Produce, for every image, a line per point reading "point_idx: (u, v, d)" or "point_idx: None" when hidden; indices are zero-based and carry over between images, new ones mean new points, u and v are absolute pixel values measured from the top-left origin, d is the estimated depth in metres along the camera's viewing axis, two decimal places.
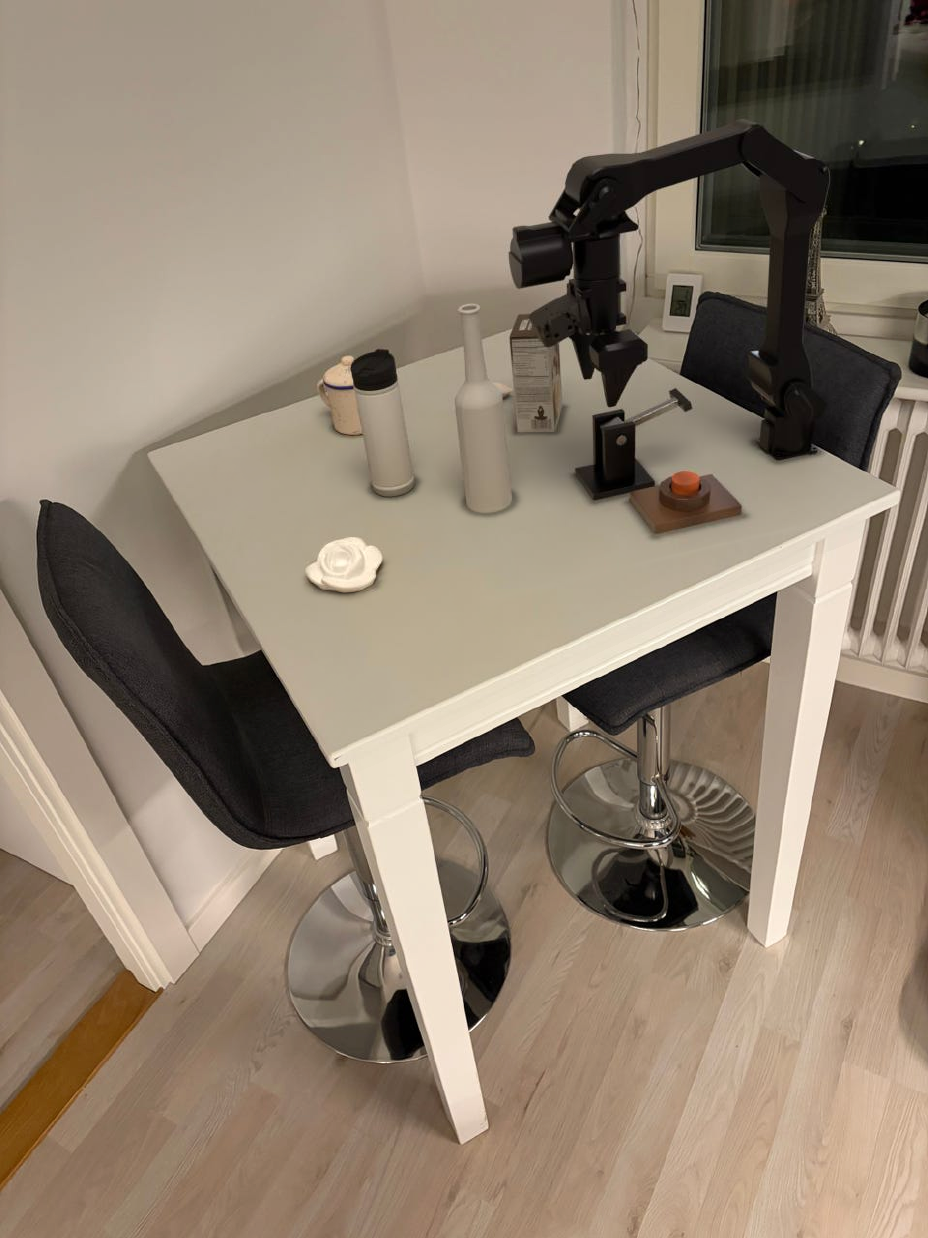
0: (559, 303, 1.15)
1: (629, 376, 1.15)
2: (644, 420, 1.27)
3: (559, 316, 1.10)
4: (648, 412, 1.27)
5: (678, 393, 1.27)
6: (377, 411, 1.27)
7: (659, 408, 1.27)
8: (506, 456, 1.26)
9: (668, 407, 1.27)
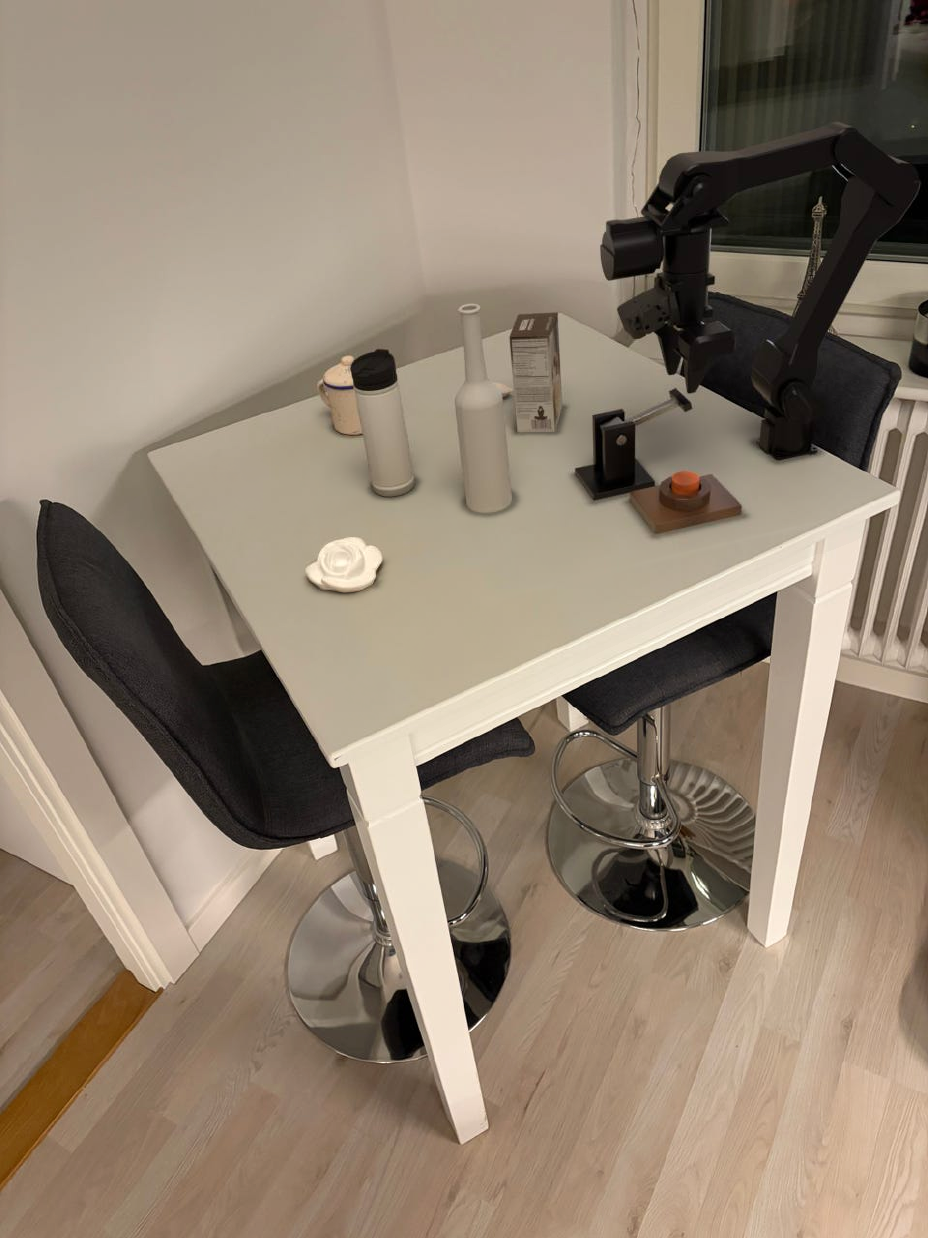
0: (648, 296, 1.18)
1: (710, 363, 1.20)
2: (644, 420, 1.27)
3: (651, 309, 1.14)
4: (648, 412, 1.27)
5: (678, 393, 1.27)
6: (377, 411, 1.27)
7: (659, 408, 1.27)
8: (506, 456, 1.26)
9: (668, 407, 1.27)
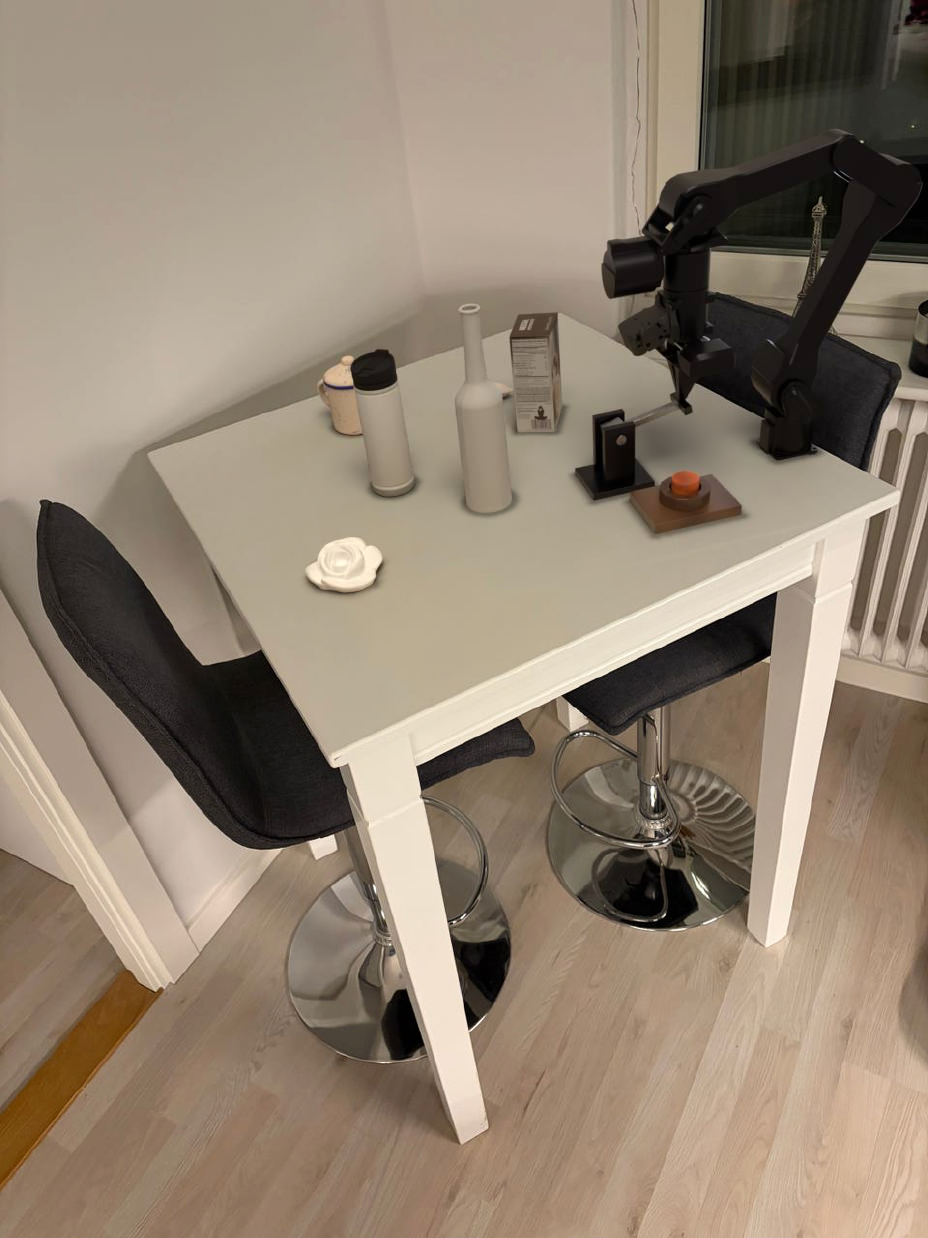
0: (648, 314, 1.19)
1: None
2: (644, 421, 1.27)
3: (651, 326, 1.15)
4: (649, 414, 1.27)
5: None
6: (377, 411, 1.27)
7: (660, 410, 1.27)
8: (506, 456, 1.26)
9: (669, 410, 1.27)
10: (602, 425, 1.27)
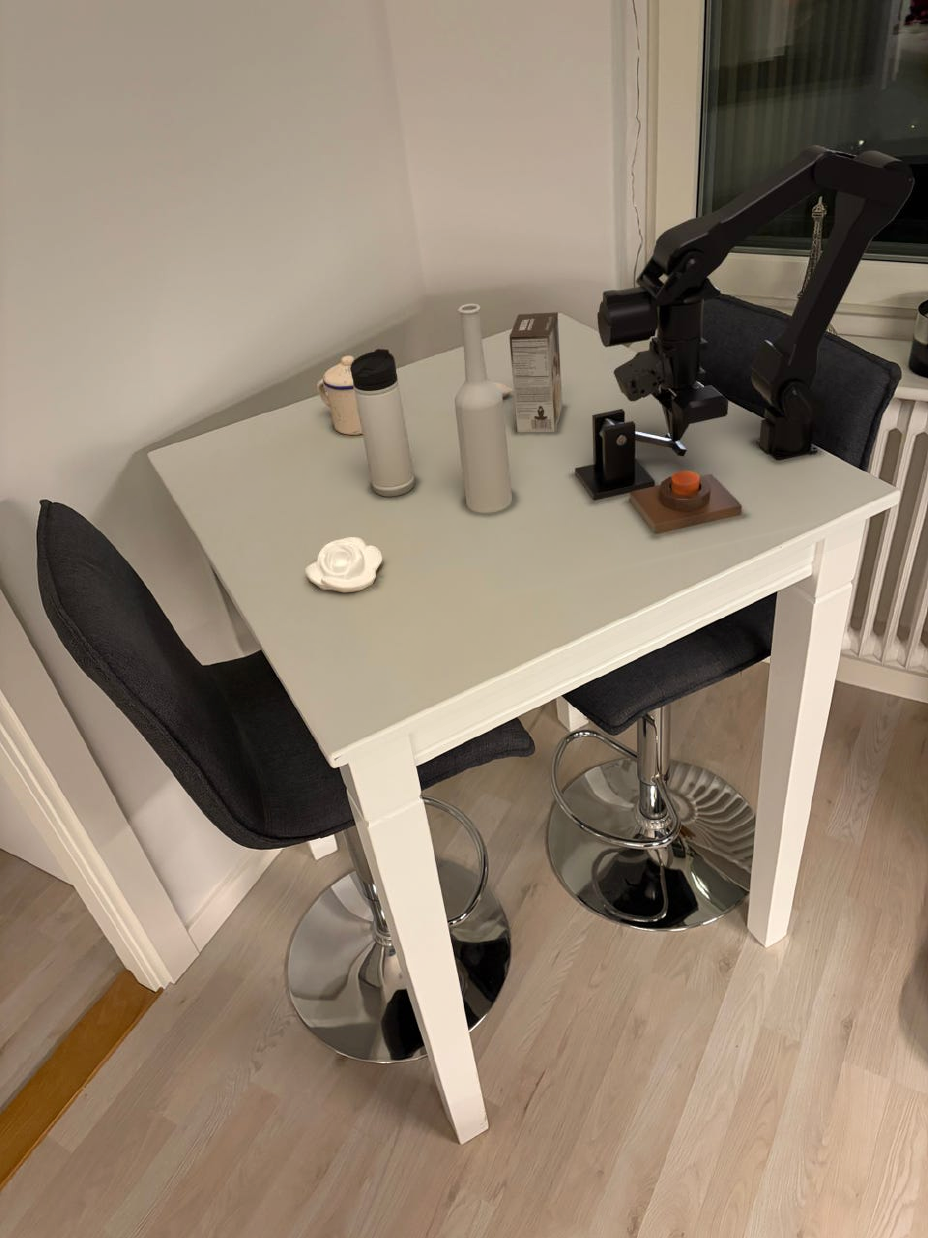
0: (643, 360, 1.23)
1: None
2: (641, 440, 1.29)
3: (646, 374, 1.19)
4: (648, 436, 1.29)
5: None
6: (377, 411, 1.27)
7: (658, 438, 1.29)
8: (506, 456, 1.26)
9: (664, 443, 1.30)
10: (608, 419, 1.27)
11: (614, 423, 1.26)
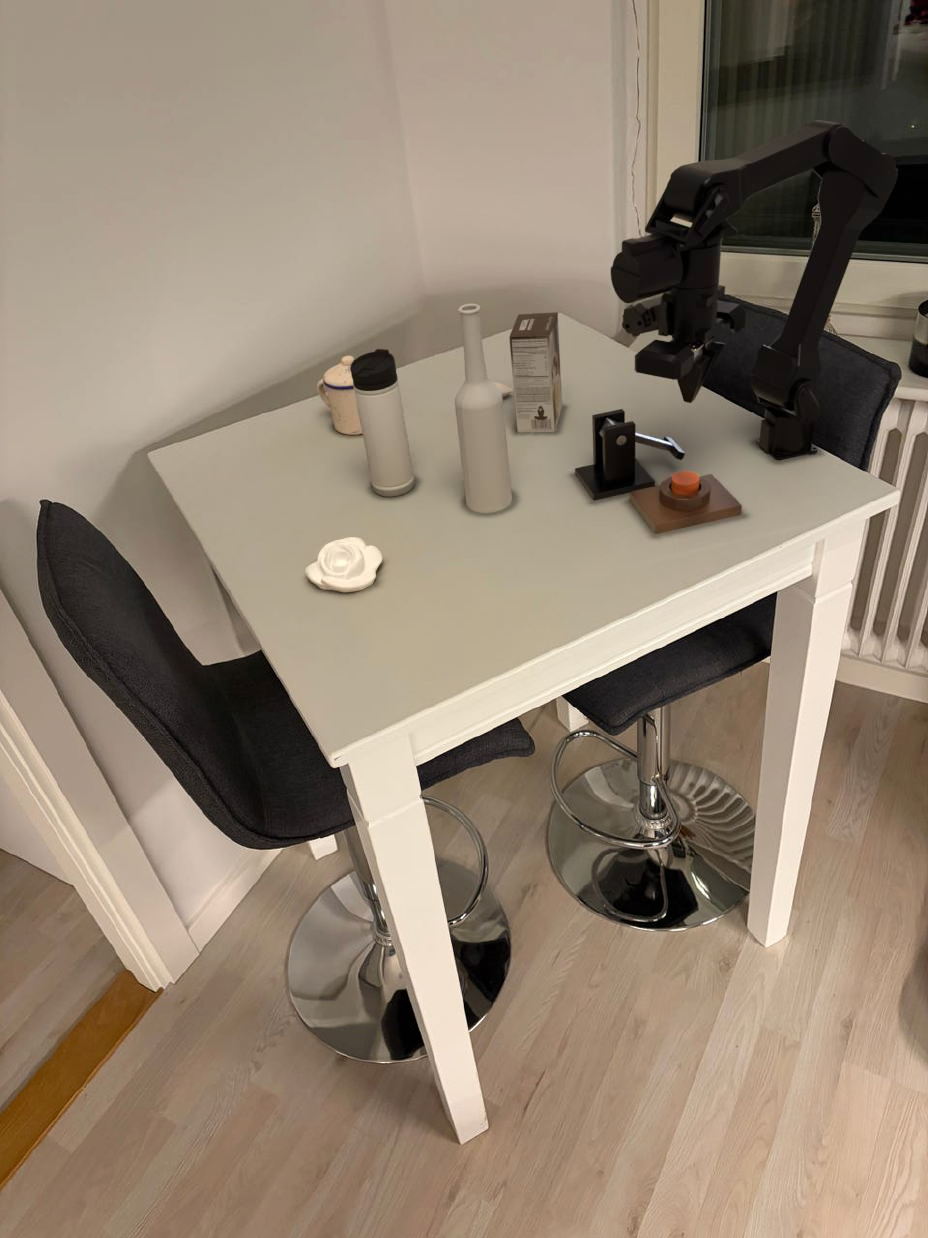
0: (660, 299, 1.16)
1: (697, 377, 1.17)
2: (640, 441, 1.29)
3: (630, 309, 1.14)
4: (648, 438, 1.29)
5: (673, 442, 1.32)
6: (377, 411, 1.27)
7: (657, 440, 1.30)
8: (506, 456, 1.26)
9: (663, 446, 1.30)
10: (608, 419, 1.27)
11: (614, 423, 1.26)
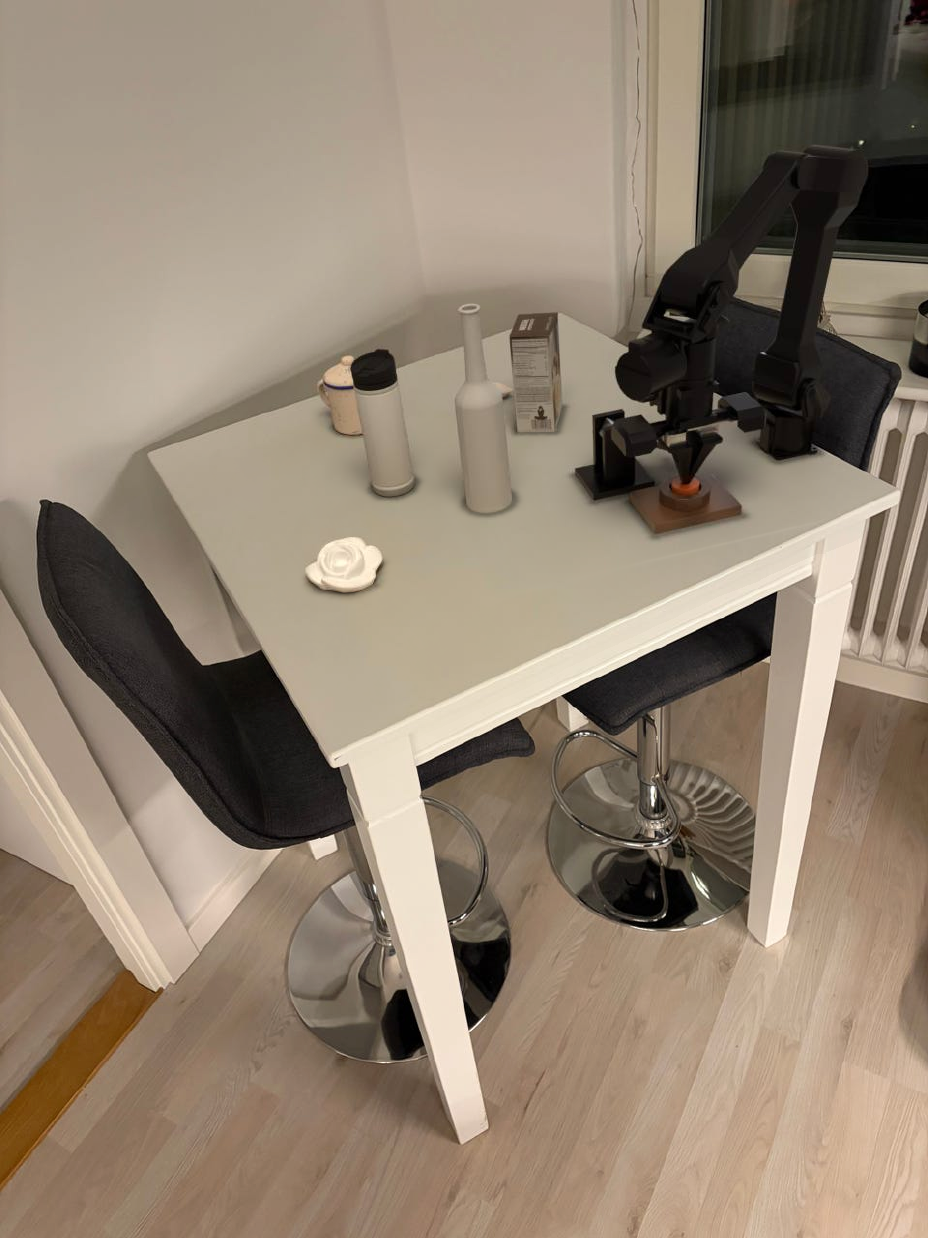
0: None
1: (680, 462, 1.18)
2: None
3: None
4: None
5: None
6: (377, 411, 1.27)
7: None
8: (506, 456, 1.26)
9: None
10: (608, 419, 1.27)
11: None
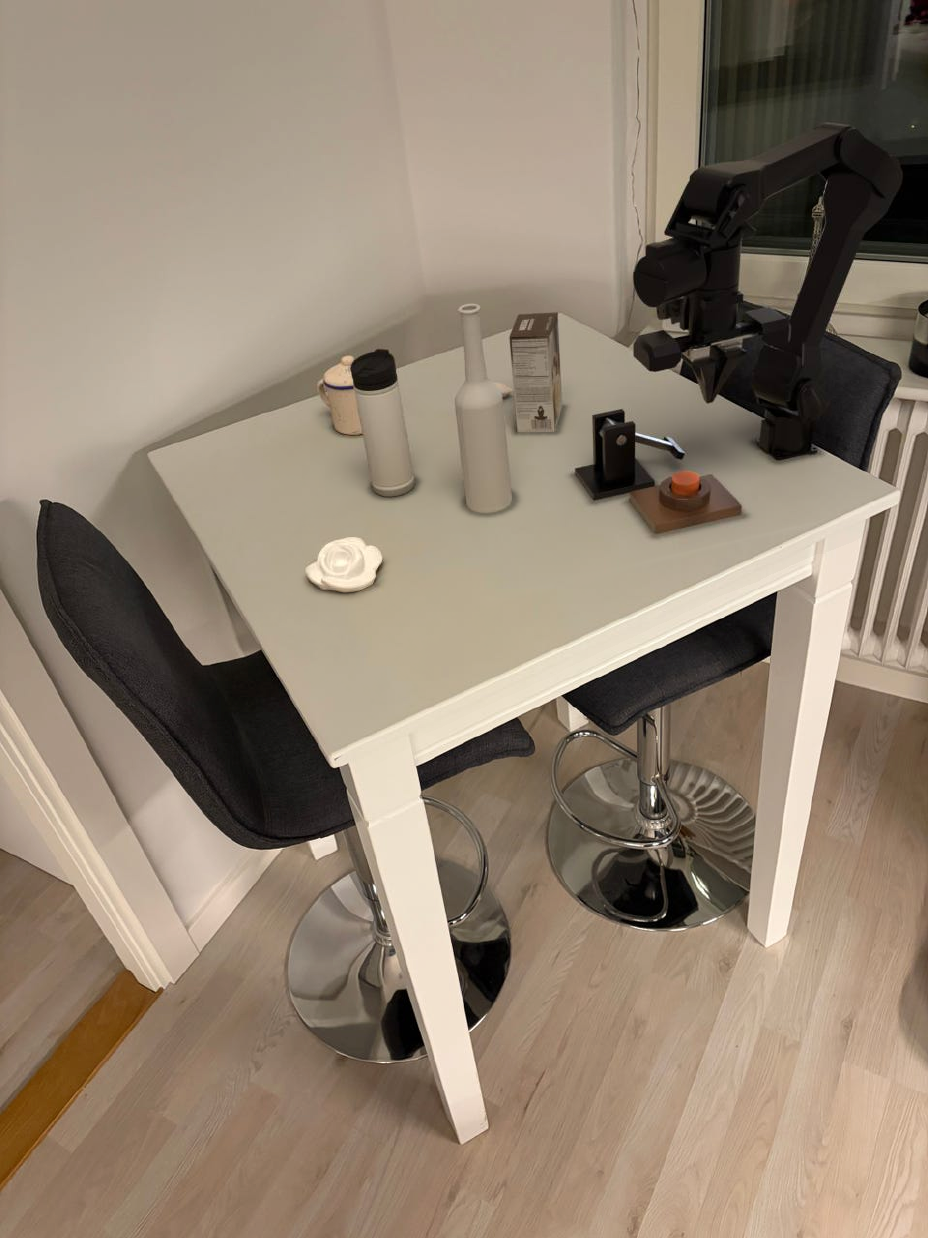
0: None
1: (703, 379, 1.17)
2: (640, 441, 1.29)
3: None
4: (648, 438, 1.29)
5: (673, 442, 1.32)
6: (377, 411, 1.27)
7: (657, 440, 1.30)
8: (506, 456, 1.26)
9: (663, 446, 1.30)
10: (608, 419, 1.27)
11: (614, 423, 1.26)
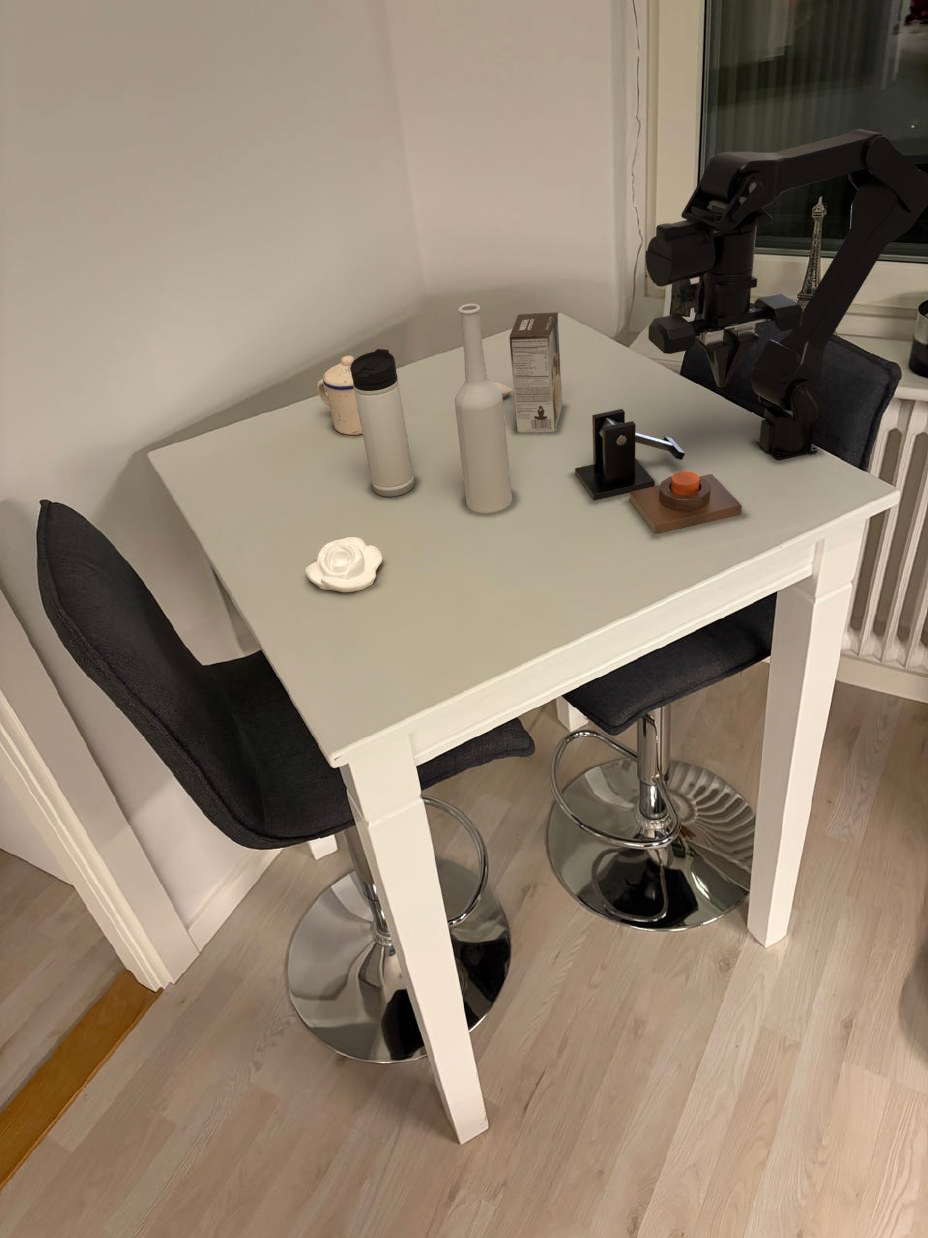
0: None
1: (716, 362, 1.20)
2: (640, 441, 1.29)
3: None
4: (648, 438, 1.29)
5: (673, 442, 1.32)
6: (377, 411, 1.27)
7: (657, 440, 1.30)
8: (506, 456, 1.26)
9: (663, 446, 1.30)
10: (608, 419, 1.27)
11: (614, 423, 1.26)
